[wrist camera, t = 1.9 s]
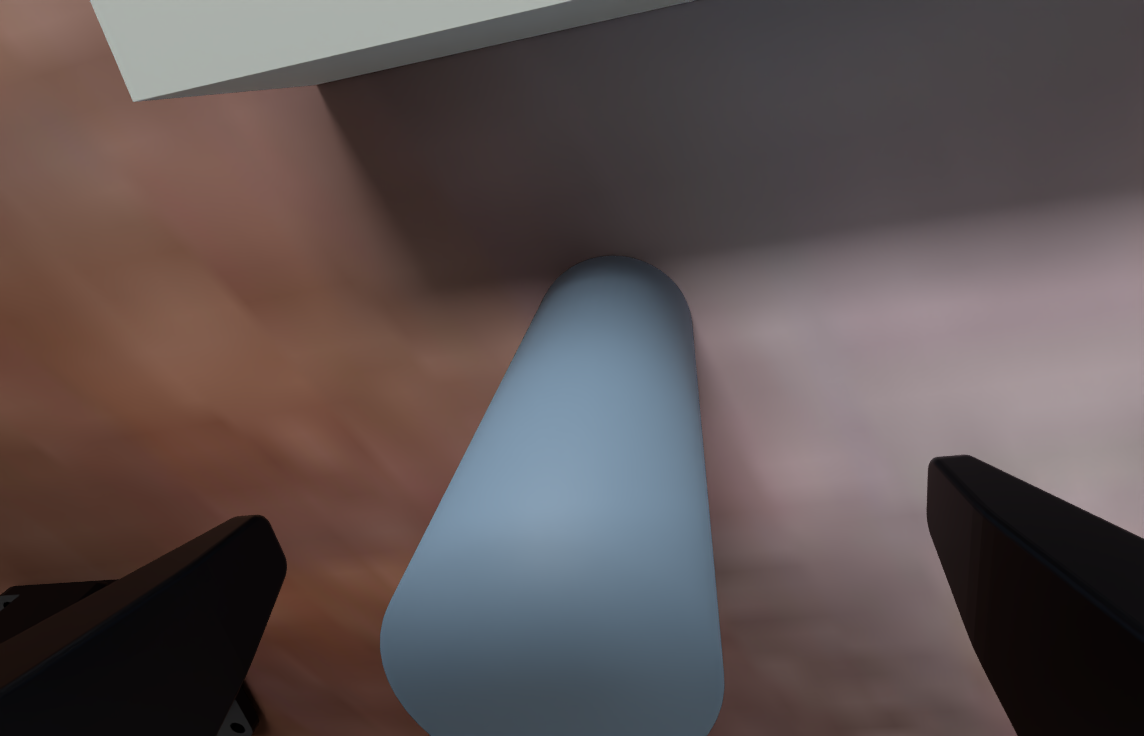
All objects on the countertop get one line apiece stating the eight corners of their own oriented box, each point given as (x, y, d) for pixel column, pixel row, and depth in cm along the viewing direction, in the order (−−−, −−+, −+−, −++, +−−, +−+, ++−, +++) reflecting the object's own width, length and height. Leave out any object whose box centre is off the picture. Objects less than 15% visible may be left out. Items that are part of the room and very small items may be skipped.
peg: (700, 391, 15) (739, 789, 7) (554, 407, 16) (433, 787, 8) (682, 244, 14) (703, 524, 6) (522, 268, 14) (333, 550, 6)
